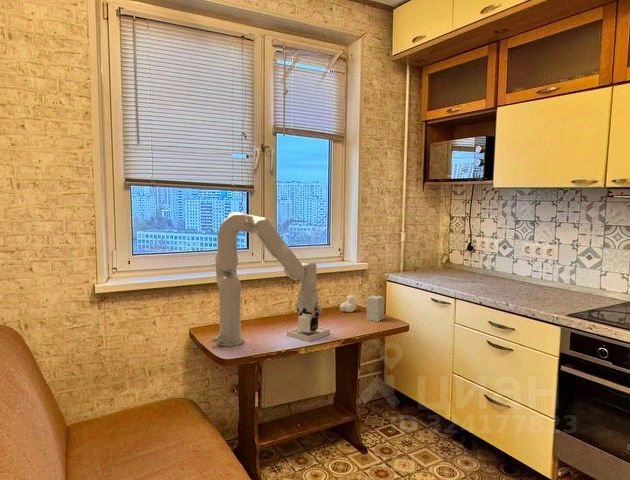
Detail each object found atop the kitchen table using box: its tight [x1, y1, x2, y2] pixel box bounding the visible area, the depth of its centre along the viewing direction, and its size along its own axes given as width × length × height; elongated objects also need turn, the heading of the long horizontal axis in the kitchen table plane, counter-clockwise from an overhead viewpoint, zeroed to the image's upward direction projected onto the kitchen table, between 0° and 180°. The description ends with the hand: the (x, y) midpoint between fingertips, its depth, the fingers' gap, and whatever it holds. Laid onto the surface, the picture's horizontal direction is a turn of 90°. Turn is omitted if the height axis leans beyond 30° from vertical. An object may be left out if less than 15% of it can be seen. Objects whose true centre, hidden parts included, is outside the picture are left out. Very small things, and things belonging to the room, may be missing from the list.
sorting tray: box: [286, 326, 331, 342], centre depth 211 cm, size 16×14×2 cm
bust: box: [339, 294, 358, 313], centre depth 256 cm, size 12×8×11 cm
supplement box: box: [366, 294, 385, 322], centre depth 239 cm, size 7×7×13 cm
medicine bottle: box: [297, 308, 319, 333], centre depth 211 cm, size 7×7×12 cm
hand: (308, 323), depth 211 cm, fingers closed on medicine bottle, 7 cm apart
